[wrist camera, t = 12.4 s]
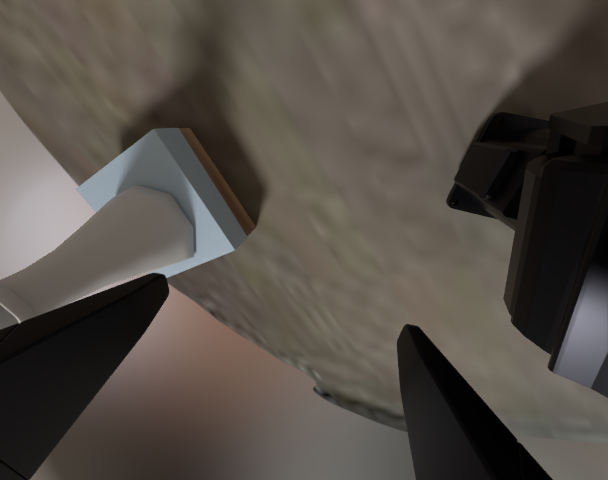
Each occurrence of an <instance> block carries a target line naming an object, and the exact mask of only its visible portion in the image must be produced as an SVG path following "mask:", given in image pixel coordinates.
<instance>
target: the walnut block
mask: <svg viewBox="0 0 608 480" xmlns="http://www.w3.org/2000/svg"><path fill="white" fill-rule="evenodd" d="M179 129H180V131H181V133H182V134H183V136H184V137H185V139H186V141H187V142H188V144H189V145H190V147H191V148H192V150H193V152H194V153H195V155H196V156H197V158H198V159H199V161H200V163H201V164H202V166H203V167H204V169H205V171H206V172H207V174H208V175H209V177H210V178H211V180H212V182H213V183H214V185H215V186H216V188H217V190H218V191H219V193H220V194H221V196H222V197H223V199H224V201H225V202H226V204H227V205H228V207H229V208H230V210H231V212H232V213H233V215H234V216H235V218H236V220H237V221H238V223H239V224H240V226H241V227H242V229H243V231H244V232H245V234H246V235H247V236H248V235H249V234H250V233H251V232H252V231H253V230H254V229H255V228H256V226H255V225H254V223H253V222H252V220H251V219H250V217H249V216H248V214H247V213H246V211H245V210H244V208H243V207H242V205H241V204H240V202H239V201H238V199H237V198H236V196H235V195H234V193H233V192H232V190H231V189H230V187H229V186H228V184H227V183H226V181H225V180H224V178H223V177H222V175H221V174H220V172H219V171H218V169H217V168H216V166H215V165H214V163H213V162H212V160H211V159H210V157H209V156H208V154H207V153H206V151H205V150H204V148H203V147H202V145H201V144H200V142H199V141H198V139H197V138H196V136H195V135H194V133H193V132H192V130H191V129H190V128H179Z"/></svg>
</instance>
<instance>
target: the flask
mask: <svg viewBox="0 0 608 480" xmlns="http://www.w3.org/2000/svg"><path fill="white" fill-rule="evenodd" d="M192 257H194V241H193V226H192V225H191V223H190V222H189V220H188V219H187V217H186V216H185V215H184V213H183V212H182V210H181V209H180V207H179V206H178V204H177V203H176V201H175V200H174V198H173V197H172V195H171V194H168V193H165V192H161V191H158V190H154V189H151V188H147V187H144V186H140V185H137V184H136V185H134V186H132V187H130V188H129V189H127V190H125V191H123V192H122V193H120V194H118V195H117V196H115V197H113V198H112V199H111V200H110V201H108V202H107V203H106V204H105V205H104V206H103V207H102V208H101V209H100V210H99V211H98V212H97V213H96V214H95V215H93V216H92V217H91V218H90V219H89V220H88V221H87V222H86V223H85V224H84V225H83V226H82V227H80V228H79V229H78V230H77V231H76V232H75V233H74V234H72V235H71V236H70V237H69V238H68V239H67V240H65V241H64V242H63V243H62V244H61V245H60V246H59V247H57V248H56V249H55V250H54V251H52V252H51V253H49V254H47V255H46V256H44V257H43V258H41V259H39V260H38V261H36V262H35V263H33V264H32V265H30V266H28V267H27V268H25V269H23V270H21V271H19V272H17V273H15V274H13V275H11V276H9V277H6V278H4V279H2V280H0V329H3V328H6V327H8V326H11V325H14V324H16V323H21V322H22V321H25V320H27V319H30V318H33V317H35V316H38V315H41V314H43V313H46V312H49V311H51V310H54V309H57V308H59V307H62V306H65V305H67V304H69V303H70V302H73V301H75V300H77V299H79V298H81V297H83V296H85V295H87V294H89V293H92V292H94V291H96V290H98V289H100V288H102V287H104V286H107V285H110V284H113V283H116V282H119V281H122V280H125V279H128V278H131V277H134V276H137V275H140V274H144V273H147V272H151V271H154V270H157V269H161V268H164V267H167V266H170V265H172V264H175V263H178V262H181V261H184V260H186V259H189V258H192Z"/></svg>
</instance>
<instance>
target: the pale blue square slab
mask: <svg viewBox="0 0 608 480" xmlns="http://www.w3.org/2000/svg"><path fill="white" fill-rule="evenodd" d="M136 184H137V185H140V186H144V187H147V188H151V189H154V190H158V191H161V192H165V193H168V194H171V195H172V197H173V198H174V200H175V201H176V203H177V204H178V206H179V207H180V209H181V210H182V212H183V213H184V215H185V216H186V217H187V219H188V220H189V222H190V223H191V225H192V226H193V241H194V257H192V258H189V259H186V260H184V261H181V262H178V263H175V264H172V265H170V266H167V267H164V268H161V269H157V270H154V271H151V272H148V273H149V274H151V273H160V274H164V275H165V276H166V278H167V277H170V276H172V275H175V274H177V273H180V272H182V271H185V270H187V269H190V268H192V267H195V266H197V265H200V264H202V263H205V262H207V261H210V260H212V259H215V258H217V257H220V256H222V255H225V254H227V253H230V252H232V251H235V250H236V249H237V248H238V247H239V245H240V244H241V243H242V242H243V241H244V240H245V239H246V238H247V235H246V234H245V232H244V231H243V229H242V227H241V226H240V224H239V223H238V221H237V220H236V218H235V216H234V215H233V213H232V212H231V210H230V208H229V207H228V205H227V204H226V202H225V201H224V199H223V197H222V196H221V194H220V193H219V191H218V190H217V188H216V186H215V185H214V183H213V182H212V180H211V178H210V177H209V175H208V174H207V172H206V171H205V169H204V167H203V166H202V164H201V163H200V161H199V159H198V158H197V156H196V155H195V153H194V152H193V150H192V148H191V147H190V145H189V144H188V142H187V141H186V139H185V137H184V136H183V134H182V133H181V131H180V129H179V128H159V129H153V130H151V131H150V132H149V133H147V134H146V135H145V136H144V137H142V138H141V139H140V140H138V141H137V142H136V143H135V144H133V145H132V146H131V147H129V148H128V149H127V150H126V151H124V152H123V153H122V154H120V155H119V156H118V157H117V158H115V159H114V160H113V161H111V162H110V163H109V164H108V165H106V166H105V167H104V168H102V169H101V170H100V171H99V172H97V173H96V174H95V175H93V176H92V177H91V178H90V179H88V180H87V181H86V182H84V183H83V184H82V185H81V186H79V187H78V188H77V191H78V192H79V193H80V194H81V195H82V196H83V198H84V199H85V200H86V201H87V202H88V203H89V205H90V206H91V207H92V208H93V209H94V210H95V212H96V213H97V212H98V211H99V210H100V209H101V208H102V207H103V206H104V205H105V204H106V203H107V202H108V201H110V200H111V199H112V198H113V197H115V196H117V195H118V194H120V193H122V192H123V191H125V190H127V189H129V188H130V187H132V186H134V185H136Z"/></svg>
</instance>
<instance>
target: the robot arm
mask: <svg viewBox="0 0 608 480" xmlns="http://www.w3.org/2000/svg"><path fill="white" fill-rule="evenodd" d="M498 117H500V118H501V122H500V123H499V124H498V125H495V120H496V119H497V118H498ZM454 180H455V185H454V187H453V189H452V191H451V192H450V194H449V196H448V198H447V201H446V202H447V205H448V206H449V207H451V208H453V209H457V210H461V211H466V212H470V213H474V214H478V215H483V216H487V217H491V218H495V219H498V220H500V221H501V222H503V223H504V224H506V225H507V226H508V227H510V228H511V229H513V230H514V231H515V235H514V241H513V247H512V252H511V258H510V264H509V270H508V276H507V281H506V287H505V293H504V301H505V304H506V306H507V309H508V311H509V313H510V315H511V316H512V317H511V322H512V324H513V325H514V326H515V327H516V328H517V329H518V330H519V331H520V332H521V333H522V334H523V335H524V336H525V337H526V338H528V339H529V340H530V341H532V342H533V343H535V344H536V345H537V346H539V347H540V348H541V349H543V350H544V351H546V352H547V353H549V354H551V357H550V360H549V363H548V368H549V370H550V371H552V372H553V373H555V374H558V375H560V376H562V377H565V378H567V379H570V380H572V381H574V382H577V383H579V384H582V385H584V386H586V387H589V388H591V389H593V390H595V391H597V392H598V393H600V394H602V395H604V396H606V397H607V398H608V102H606V103H601V104H596V105H592V106H587V107H582V108H578V109H573V110H568V111H564V112H559V113H554V114H551V116H550V121H545V120H540V119H535V118H530V117H525V116H520V115H515V114H510V113H505V112H499V113H495V114H493V115H492V116H491V117H490V118H489V119H488V121H487V123H486V125H485V127H484V129H483V131H482V133H481V135H480V137H479V138H478V140H477V142H475V143H474V144H472V145H471V147H470V149H469V151H468V153H467V155H466V157H465V159H464V161H463V163H462V165H461V167H460V169H459V171H458V173H457V175H456V176H455V179H454ZM454 199H457V202H456V203H454V204H452V201H453V200H454ZM168 295H169V287H168V283H167V278H166V276H165V275H164V274H160V273H151V274H148V275H145V276H142V277H140V278H137V279H134V280H132V281H129V282H126V283H124V284H121V285H118V286H116V287H113V288H110V289H108V290H105V291H102V292H100V293H97V294H94V295H92V296H89V297H86V298H84V299H81V300H78V301H75V302H73V303H70V304H67V305H65V306H62V307H59V308H57V309H54V310H51V311H49V312H46V313H43V314H41V315H38V316H35V317H33V318H30V319H27V320H25V321H22V322H21V323H16V324H14V325H11V326H8V327H6V328H3V329H0V480H29V479H31V477H32V476H33V475H34V474H35V472H36V471H37V470H38V469H39V467H40V466H41V465H42V463H43V462H44V461H45V459H46V458H47V457H48V456H49V455H50V453H51V452H52V451H53V449H54V448H55V447H56V445H57V444H58V443H59V442H60V440H61V439H62V438H63V437H64V435H65V434H66V433H67V431H68V430H69V429H70V428H71V426H72V425H73V424H74V422H75V421H76V420H77V418H78V417H79V416H80V415H81V413H82V412H83V411H84V410H85V408H86V407H87V406H88V405H89V403H90V402H91V401H92V399H93V398H94V397H95V396H96V394H97V393H98V392H99V390H100V389H101V388H102V387H103V385H104V384H105V382H106V381H107V380H108V379H109V378H110V376H111V375H112V374H113V373H114V371H115V370H116V369H117V367H118V366H119V365H120V363H121V362H122V361H123V360H124V358H125V357H126V356H127V354H128V353H129V352H130V351H131V349H132V348H133V347H134V346H135V344H136V343H137V342H138V341H139V339H140V338H141V337H142V335H143V334H144V332H145V331H146V330H147V328H148V327H149V325H150V324H151V322H152V321H153V319H154V317H155V316H156V314H157V313H158V311H159V310H160V308H161V306H162V305H163V303H164V301H165V300H166V299H167V297H168ZM397 353H398V367H399V381H400V392H401V398H402V404H403V410H404V415H405V421H406V426H407V432H408V437H409V443H410V449H411V454H412V460H413V466H414V471H415V477H416V480H553V479H552V478H551V477H550V476H549V475H548V474H547V472H546V471H545V470H544V469H543V468H542V467H541V466H540V465H539V464H538V462H537V461H536V460H535V459H534V458H533V457H532V456H531V455H530V453H529V452H528V451H527V450H526V449H525V448H524V446H523V445H522V444H521V443H519V442H518V441H517V439H516V437H515V436H514V435H513V434H512V433H511V432H510V431H509V429H508V428H507V427H506V426H505V425H504V424H503V423H502V421H501V420H500V419H499V418H498V417H497V416H496V415H495V413H494V412H493V411H492V410H491V409H490V408H489V407H488V405H487V404H486V403H485V402H484V401H483V400H482V399H481V397H480V396H479V395H478V394H477V393H476V392H475V391H474V389H473V388H472V387H471V386H470V385H469V384H468V383H467V381H466V380H465V379H464V378H463V377H462V376H461V375H460V373H459V372H458V371H457V370H456V369H455V368H454V367H453V365H452V364H451V363H450V362H449V361H448V360H447V359H446V357H445V356H444V355H443V354H442V353H441V352H440V350H439V349H438V348H437V347H436V346H435V345H434V344H433V342H432V341H431V340H430V339H429V338H428V337H427V336H426V334H425V333H424V332H423V331H422V330H421V329H420V328H419V327H418V326H415V325H410V324H406V325H404V327H403V329H402V331H401V333H400V335H399V338H398V340H397Z"/></svg>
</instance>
